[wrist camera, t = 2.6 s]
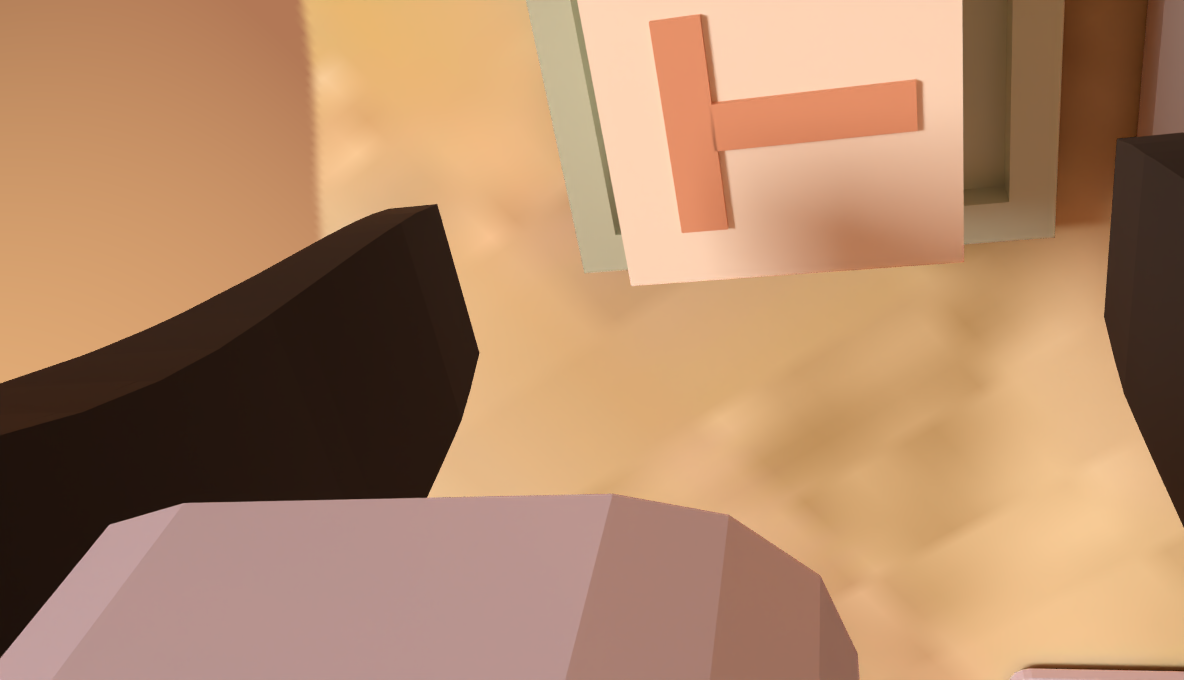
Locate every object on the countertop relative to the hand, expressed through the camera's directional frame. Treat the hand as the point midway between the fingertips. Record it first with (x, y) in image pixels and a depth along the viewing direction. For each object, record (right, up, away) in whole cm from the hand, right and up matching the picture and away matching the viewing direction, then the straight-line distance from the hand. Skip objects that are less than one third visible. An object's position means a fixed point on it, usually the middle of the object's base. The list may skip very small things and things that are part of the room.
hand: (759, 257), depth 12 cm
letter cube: (+2, +5, +7) cm, 9 cm away
